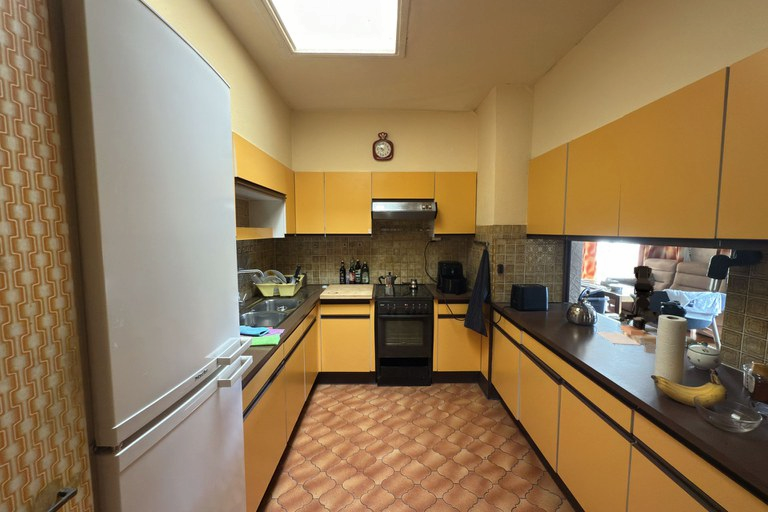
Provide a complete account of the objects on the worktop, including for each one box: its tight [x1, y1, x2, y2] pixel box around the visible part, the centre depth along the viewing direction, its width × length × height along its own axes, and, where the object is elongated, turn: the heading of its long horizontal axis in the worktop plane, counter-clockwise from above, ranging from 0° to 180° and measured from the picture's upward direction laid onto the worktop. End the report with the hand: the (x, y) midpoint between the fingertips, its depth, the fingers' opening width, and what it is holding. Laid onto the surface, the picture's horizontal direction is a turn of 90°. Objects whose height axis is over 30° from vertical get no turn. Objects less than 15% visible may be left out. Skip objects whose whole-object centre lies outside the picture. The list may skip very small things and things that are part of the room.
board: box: [622, 330, 657, 346], centre depth 169 cm, size 16×9×4 cm, turn 169°
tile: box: [620, 325, 643, 336], centre depth 169 cm, size 9×6×2 cm, turn 170°
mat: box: [596, 331, 641, 346], centre depth 171 cm, size 18×13×1 cm
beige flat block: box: [638, 336, 657, 354], centre depth 152 cm, size 7×2×8 cm, turn 67°
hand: (640, 331), depth 169 cm, fingers closed
